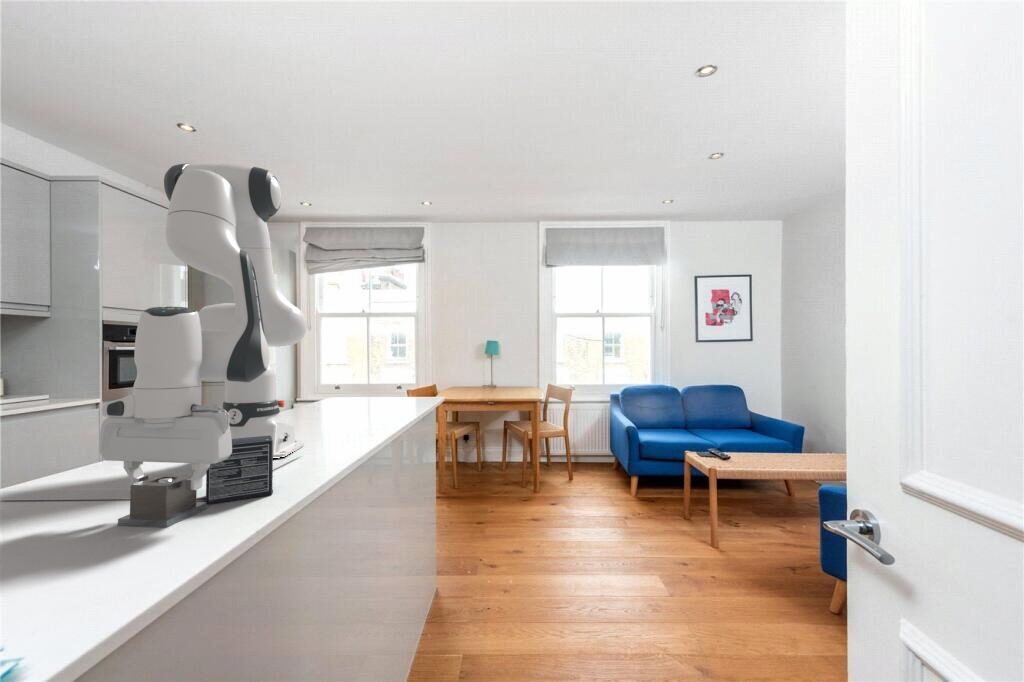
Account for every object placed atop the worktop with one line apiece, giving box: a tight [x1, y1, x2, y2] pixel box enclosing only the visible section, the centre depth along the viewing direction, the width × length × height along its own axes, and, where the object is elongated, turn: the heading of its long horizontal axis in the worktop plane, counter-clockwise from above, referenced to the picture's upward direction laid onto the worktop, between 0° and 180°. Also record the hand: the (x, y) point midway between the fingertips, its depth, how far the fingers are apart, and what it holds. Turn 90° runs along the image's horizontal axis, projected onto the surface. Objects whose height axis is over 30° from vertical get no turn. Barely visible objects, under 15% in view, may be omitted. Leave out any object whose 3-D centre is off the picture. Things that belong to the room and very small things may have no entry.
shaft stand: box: [117, 478, 208, 528], centre depth 71 cm, size 8×8×6 cm
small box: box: [204, 435, 274, 506], centre depth 81 cm, size 11×6×10 cm, turn 122°
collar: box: [129, 473, 198, 518], centre depth 71 cm, size 6×6×5 cm
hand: (166, 488), depth 71 cm, fingers open, 8 cm apart
